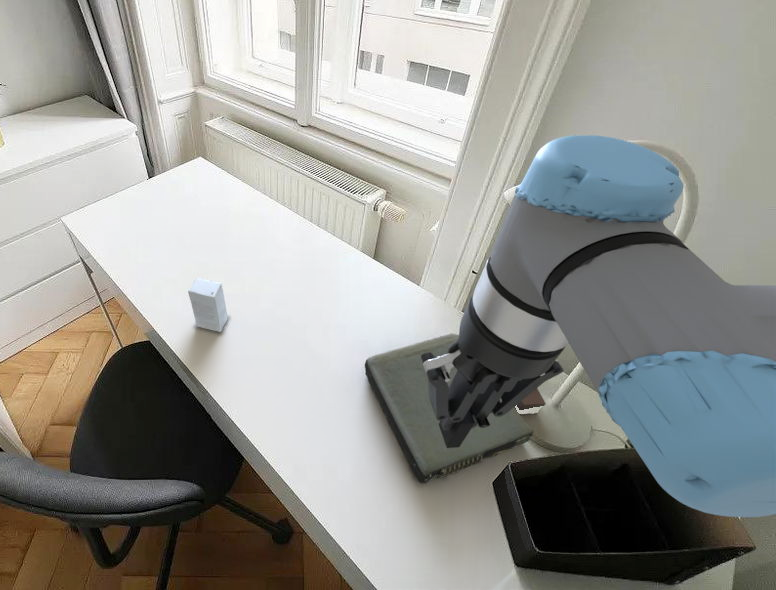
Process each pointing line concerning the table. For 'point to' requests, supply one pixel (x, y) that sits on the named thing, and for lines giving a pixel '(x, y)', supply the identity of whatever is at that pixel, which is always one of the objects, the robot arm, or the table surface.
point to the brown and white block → (531, 401)
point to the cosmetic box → (208, 304)
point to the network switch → (433, 414)
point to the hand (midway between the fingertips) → (448, 435)
